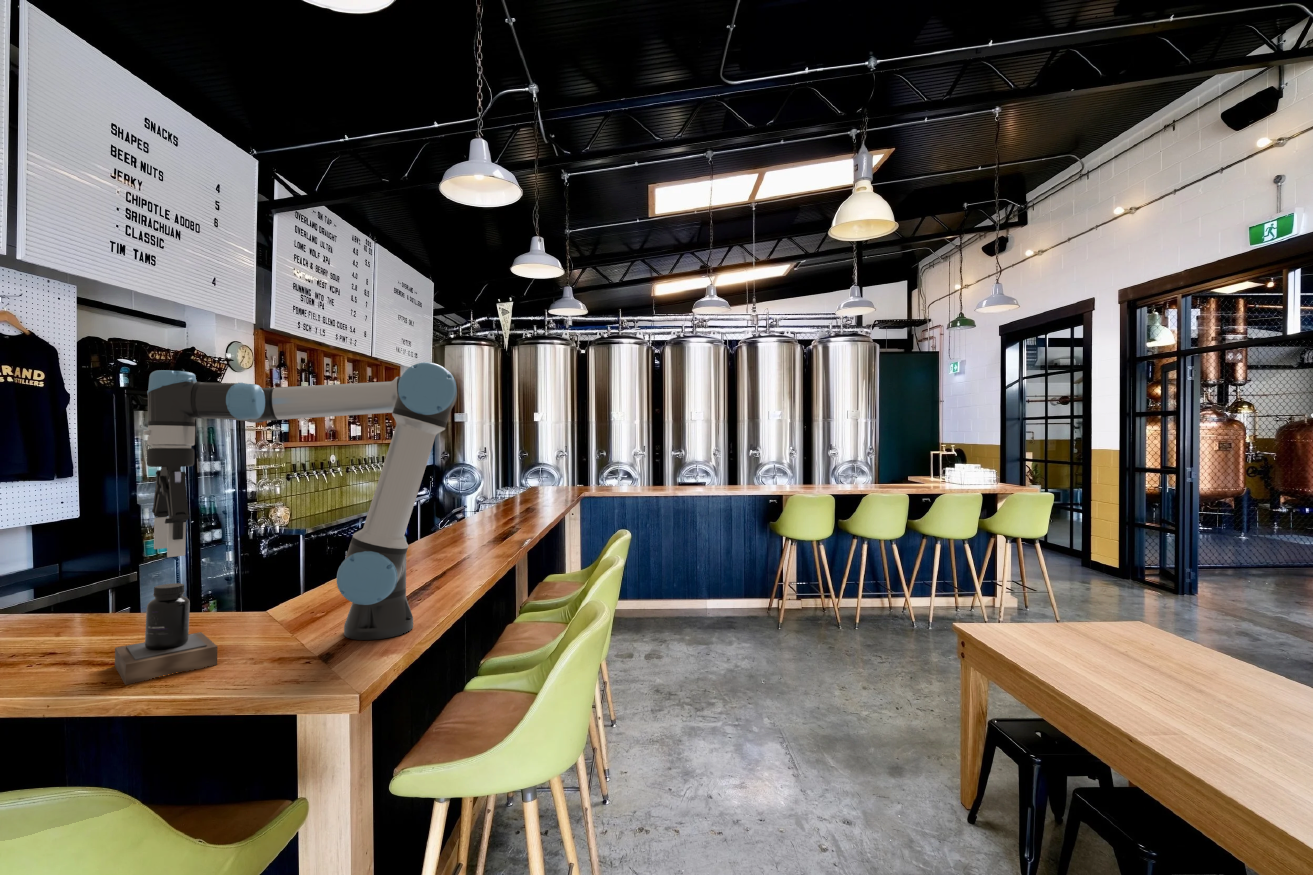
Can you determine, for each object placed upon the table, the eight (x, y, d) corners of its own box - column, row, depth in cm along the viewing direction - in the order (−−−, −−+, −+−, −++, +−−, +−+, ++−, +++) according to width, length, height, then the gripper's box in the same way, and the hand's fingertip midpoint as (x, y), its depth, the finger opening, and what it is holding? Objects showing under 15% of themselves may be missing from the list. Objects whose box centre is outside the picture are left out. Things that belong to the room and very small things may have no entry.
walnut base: (200, 649, 130) (201, 630, 131) (217, 664, 121) (217, 644, 121) (114, 666, 120) (115, 646, 120) (125, 684, 111) (125, 662, 111)
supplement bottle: (144, 653, 116) (146, 591, 116) (145, 644, 121) (146, 584, 121) (189, 646, 120) (190, 586, 121) (188, 638, 125) (189, 580, 126)
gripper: (136, 447, 127) (134, 547, 127) (159, 447, 110) (157, 562, 110) (181, 447, 133) (179, 543, 132) (209, 447, 116) (207, 557, 116)
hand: (169, 552), depth 121 cm, fingers open, 13 cm apart
